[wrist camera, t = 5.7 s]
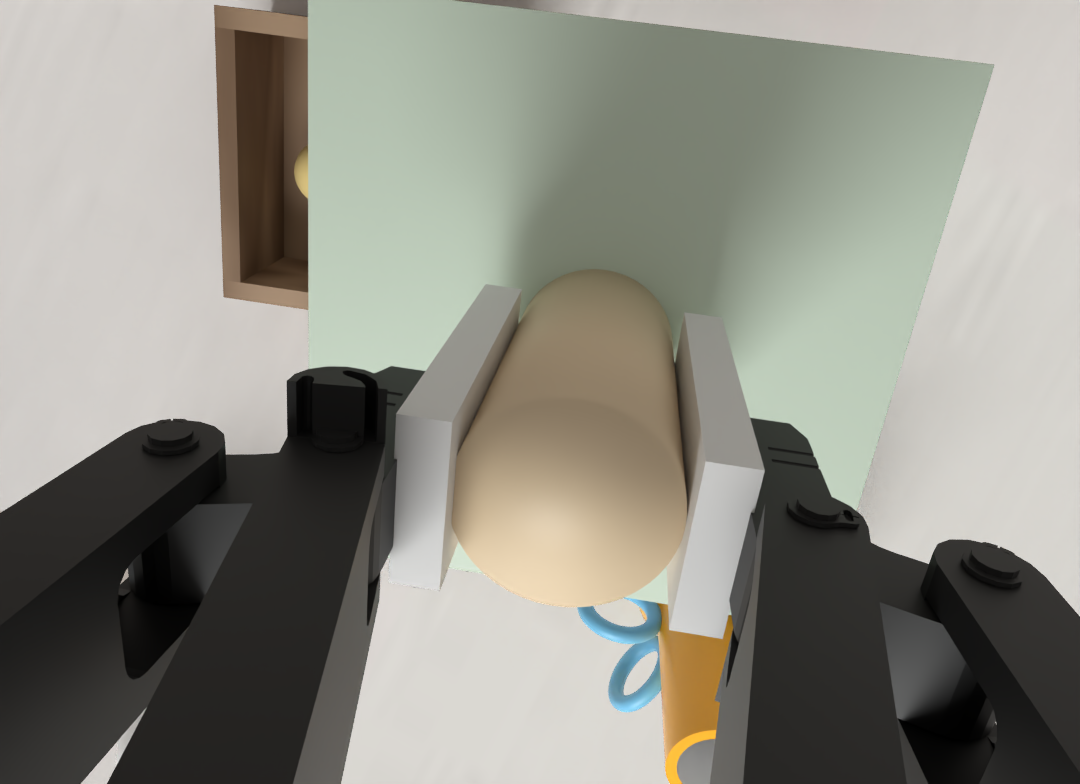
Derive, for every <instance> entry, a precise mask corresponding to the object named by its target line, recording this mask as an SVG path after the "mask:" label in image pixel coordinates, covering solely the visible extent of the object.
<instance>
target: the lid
mask: <svg viewBox="0 0 1080 784" xmlns="http://www.w3.org/2000/svg"><path fill="white" fill-rule="evenodd" d="M993 68H994V64H986V63H977V62H969V61H961V60H952V59H944V58H935V57H927V56H918V55H910V54H902V53H893V52H885V51H876V50H868V49H859V48H851V47H843V46H834V45H826V44H817V43H809V42H800V41H792V40H784V39H775V38H767V37H758V36H750V35H741V34H733V33H725V32H716V31H708V30H699V29H691V28H682V27H674V26H666V25H657V24H649V23H640V22H632V21H623V20H615V19H607V18H598V17H590V16H581V15H573V14H565V13H556V12H548V11H539V10H531V9H522V8H514V7H506V6H497V5H489V4H480V3H472V2H463V1H455V0H308V328H309V369H312V368H319V367H326V366H340V367H352V368H358V369H364V370H367V371H369V372H372V373H376V372H379V371H381V370H383V369H386V368H388V367H390V366H395V367H402V368H408V369H415V370H422V371H426V370H427V368H428V367H429V365H430V364H431V363H432V361H433V360H434V358H435V357H436V355H437V354H438V352H439V351H440V350H441V348H442V347H443V345H444V344H445V342H446V341H447V339H448V338H449V336H450V335H451V334H452V332H453V331H454V329H455V328H456V326H457V325H458V323H459V322H460V321H461V319H462V318H463V316H464V315H465V313H466V312H467V310H468V309H469V308H470V306H471V305H472V303H473V302H474V300H475V299H476V297H477V296H478V295H479V293H480V292H481V290H482V289H483V287H484V286H485V284H489V285H496V286H503V287H510V288H517V289H522V294H521V303H520V313H519V322H518V327H517V329H516V331H515V333H514V335H513V337H512V340H511V342H510V344H509V346H508V348H507V350H506V352H505V355H504V357H503V359H502V361H501V363H500V365H499V367H498V369H497V372H496V374H495V376H494V378H493V380H492V382H491V384H490V387H489V389H488V391H487V393H486V395H485V397H484V399H483V401H482V404H481V406H480V408H479V410H478V412H477V414H476V416H475V419H474V421H473V423H472V425H471V427H470V429H469V431H468V433H467V436H466V438H465V440H464V442H463V444H462V446H461V448H460V451H459V453H458V455H457V459H456V472H455V484H454V497H453V509H452V522H451V523H452V527H453V530H454V532H455V534H456V537H457V539H458V541H459V542H458V544H457V547H456V549H455V552H454V555H453V557H452V560H451V563H450V565H449V568H451V569H457V570H463V571H469V572H475V573H481V574H485V575H486V576H487V577H489V578H490V579H491V580H493V581H494V582H495V583H497V584H498V585H500V586H501V587H503V588H505V589H506V590H508V591H510V592H512V593H514V594H516V595H518V596H521V597H523V598H526V599H529V600H532V601H535V602H538V603H543V604H547V605H552V606H560V607H588V606H596V605H601V604H606V603H610V602H613V601H616V600H619V599H622V598H624V597H625V598H631V599H637V600H643V601H649V602H655V603H661V604H668V587H667V565H668V564H669V562H670V561H671V559H672V558H673V556H674V555H675V553H676V551H677V549H678V547H679V545H680V543H681V541H682V537H683V534H684V530H685V526H686V519H687V495H686V484H685V473H684V462H683V451H682V440H681V429H680V418H679V406H678V395H677V384H676V373H675V359H676V354H677V348H678V343H679V338H680V333H681V327H682V322H683V317H684V312H686V313H693V314H700V315H707V316H714V317H721V318H722V320H723V324H724V327H725V331H726V334H727V338H728V341H729V345H730V349H731V352H732V356H733V359H734V363H735V366H736V370H737V373H738V377H739V380H740V384H741V388H742V391H743V395H744V398H745V402H746V405H747V409H748V412H749V416H750V418H756V419H763V420H769V421H776V422H783V423H789V424H791V425H792V426H793V427H794V428H796V429H797V430H798V431H799V432H800V433H801V434H803V435H804V436H805V437H806V438H807V439H808V441H809V443H810V446H811V448H812V451H813V453H814V456H813V457H815V458H816V460H817V463H818V465H819V469H820V470H821V472H822V475H823V477H824V479H825V482H826V484H827V487H828V489H829V491H830V494H831V496H832V497H833V498H836V499H837V500H839V501H841V502H843V503H845V504H847V505H849V506H851V507H852V508H853V509H854V510H856V511H857V508H858V505H859V501H860V498H861V495H862V492H863V488H864V485H865V482H866V479H867V476H868V472H869V469H870V466H871V463H872V459H873V456H874V453H875V450H876V446H877V443H878V440H879V437H880V433H881V430H882V427H883V424H884V421H885V417H886V414H887V411H888V408H889V404H890V401H891V398H892V395H893V391H894V388H895V385H896V382H897V378H898V375H899V372H900V369H901V365H902V362H903V359H904V356H905V353H906V349H907V346H908V343H909V340H910V336H911V333H912V330H913V327H914V323H915V320H916V317H917V314H918V310H919V307H920V304H921V301H922V298H923V294H924V291H925V288H926V285H927V281H928V278H929V275H930V272H931V268H932V265H933V262H934V259H935V255H936V252H937V249H938V246H939V243H940V239H941V236H942V233H943V230H944V226H945V223H946V220H947V217H948V213H949V210H950V207H951V204H952V200H953V197H954V194H955V191H956V187H957V184H958V181H959V178H960V175H961V171H962V168H963V165H964V162H965V158H966V155H967V152H968V149H969V145H970V142H971V139H972V136H973V132H974V129H975V126H976V123H977V120H978V116H979V113H980V110H981V107H982V103H983V100H984V97H985V94H986V90H987V87H988V84H989V81H990V77H991V74H992V71H993ZM388 558H390V554H389V556H388ZM729 615H731V609H730V611H729Z"/></svg>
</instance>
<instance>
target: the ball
mask: <svg viewBox="0 0 1080 784" xmlns="http://www.w3.org/2000/svg"><path fill="white" fill-rule="evenodd" d="M294 175H295V180H296V183H297V186H298V188H299V189H300V191H301V192H302V194H303V195H304V196H305V197H306V198H308V145H307V146H306V147H304V148H303V149H302V150H301V152H300V153H299V155H298V157H297V159H296V162H295V166H294Z"/></svg>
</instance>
